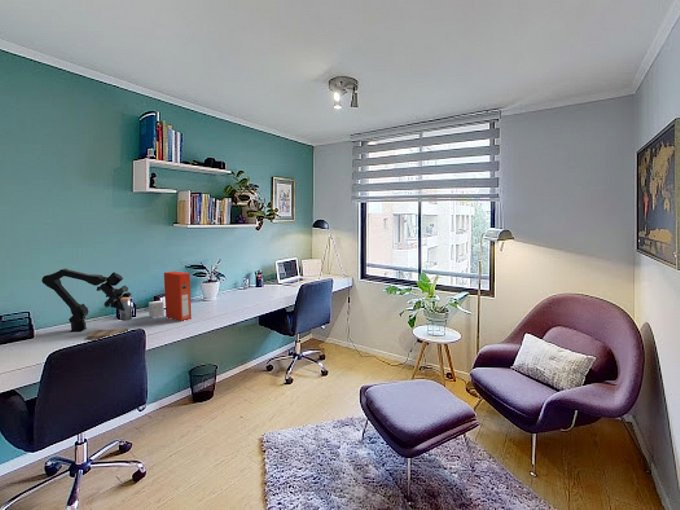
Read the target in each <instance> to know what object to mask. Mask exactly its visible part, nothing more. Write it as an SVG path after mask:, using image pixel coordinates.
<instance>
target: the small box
mask: <svg viewBox="0 0 680 510" xmlns="http://www.w3.org/2000/svg"><path fill="white" fill-rule="evenodd" d="M164 309H165V308H164V301H162V300H156V301H149V302H148V315H149V316H150V317H149V316H148V317H149V318H151V317H152V318H151V319H155V318H154V317H157V318H160V317H159V316H162V317H164V316H165V310H164Z"/></svg>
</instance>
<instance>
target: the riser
mask: <svg viewBox="0 0 680 510" xmlns="http://www.w3.org/2000/svg"><path fill="white" fill-rule="evenodd" d="M128 330H130V329H129V328H115V329H114V328H113V329H97V330H94V331H92V332H91V333H89V334H88V335H87V336H86V339H89V340H99V339H98V338H103V337H106V336H110V335H114V334H117V333H122V332H125V331H128Z"/></svg>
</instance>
